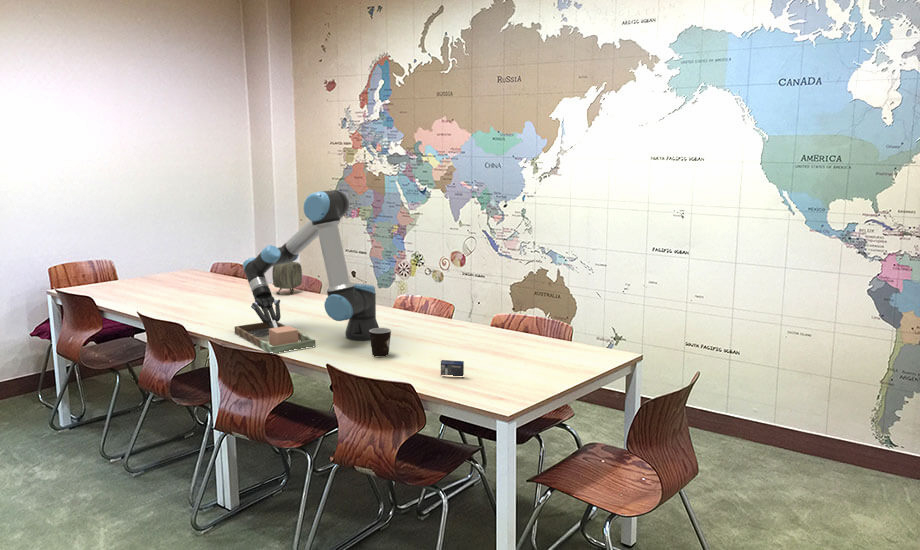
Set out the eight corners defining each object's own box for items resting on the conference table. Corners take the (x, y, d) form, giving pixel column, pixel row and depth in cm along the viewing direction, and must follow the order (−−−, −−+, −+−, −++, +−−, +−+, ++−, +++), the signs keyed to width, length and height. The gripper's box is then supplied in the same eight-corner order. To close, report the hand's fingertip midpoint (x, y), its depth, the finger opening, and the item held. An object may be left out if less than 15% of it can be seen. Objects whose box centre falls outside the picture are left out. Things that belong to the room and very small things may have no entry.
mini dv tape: (440, 377, 278) (440, 361, 277) (441, 375, 279) (441, 360, 278) (463, 378, 276) (463, 362, 275) (463, 377, 278) (463, 361, 277)
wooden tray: (315, 346, 317) (315, 339, 317) (272, 354, 306) (271, 347, 306) (275, 327, 351) (275, 320, 350) (234, 333, 339) (234, 326, 339)
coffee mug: (382, 350, 312) (381, 326, 310) (395, 354, 306) (395, 330, 304) (359, 356, 304) (358, 331, 302) (372, 360, 298) (372, 335, 296)
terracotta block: (298, 346, 319) (297, 329, 318) (278, 349, 314) (277, 333, 312) (289, 341, 326) (288, 325, 325) (269, 344, 321) (268, 328, 319)
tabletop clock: (293, 290, 434) (291, 247, 430) (304, 292, 429) (302, 248, 425) (273, 294, 423) (271, 250, 418) (284, 296, 417) (282, 251, 413)
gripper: (272, 293, 340) (289, 337, 330) (244, 296, 333) (260, 341, 322) (276, 283, 335) (294, 327, 325) (248, 286, 327) (264, 332, 317)
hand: (277, 334), depth 323 cm, fingers closed
